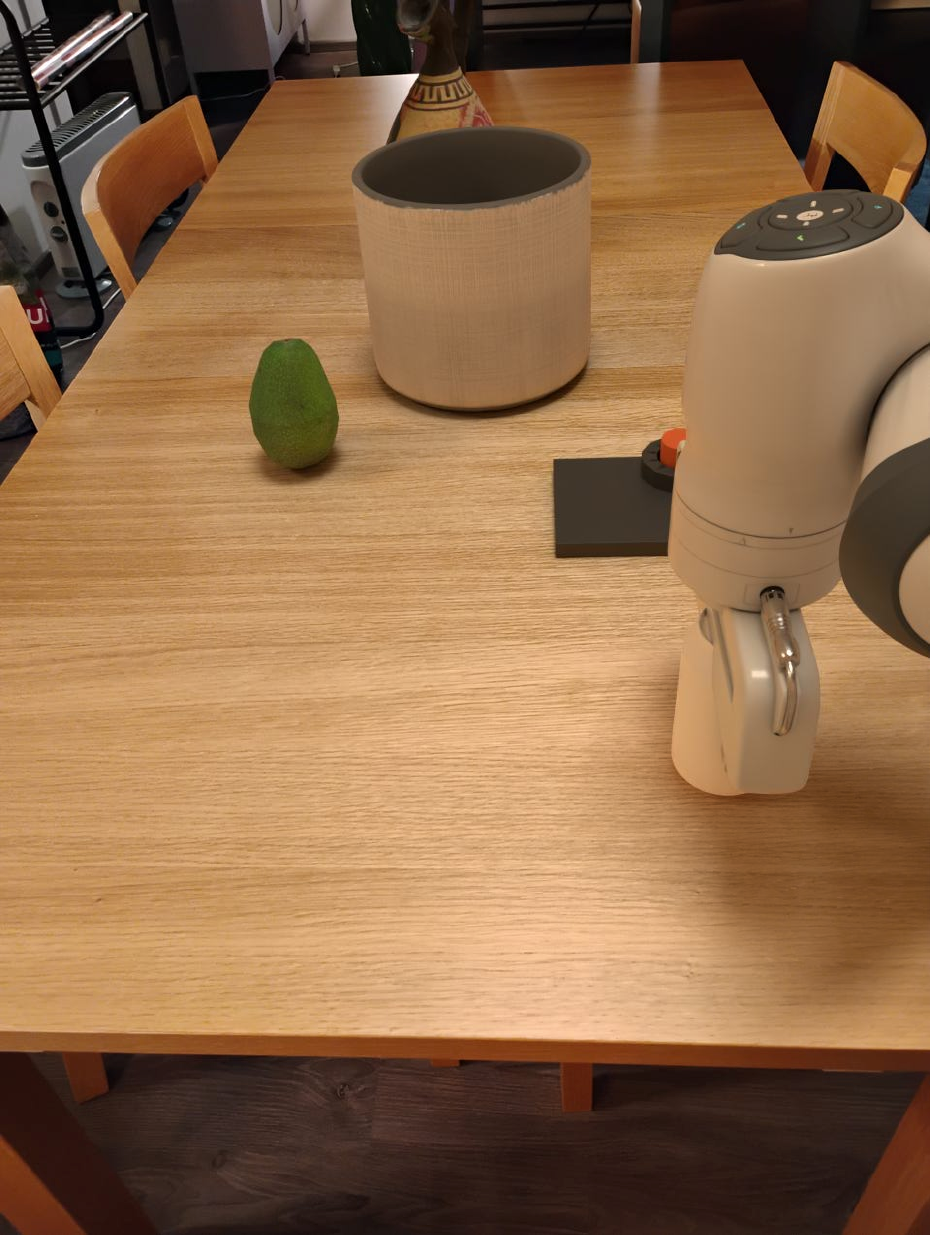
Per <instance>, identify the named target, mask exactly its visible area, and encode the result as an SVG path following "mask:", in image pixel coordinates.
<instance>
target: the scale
mask: <svg viewBox="0 0 930 1235" xmlns="http://www.w3.org/2000/svg"><path fill="white" fill-rule="evenodd" d="M660 450H661V438H658V439H655V440H653V441H651V442H649V443H648V444H647V445H646V446H645V448H644V449H643V450H642V451H641V456H612V457H611V456H609V457H577V458H576V457H575V458H574V457H573V458H553V459H552V463H553V464H552V466H553V467H552V469H553V474H552V475H553V477H552V478H553V506H554V507H553V510H554V511H553V512H554V544H555V545H554V550H555V551H554V552H555V554H554V555H555V558H588V557H589V558H592V557H595V558H596V557H637V556H638V557H639V556H641V557H642V556H668V540H669V529H670V518H671V506H672V494H673V485H674V473H675V468H672V467H669V466H665V465H663V464H662V463H661V461H660Z"/></svg>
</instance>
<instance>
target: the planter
mask: <svg viewBox="0 0 930 1235" xmlns="http://www.w3.org/2000/svg"><path fill="white" fill-rule="evenodd" d="M351 187H352V195H353V202H354V209H355V210H354V211H355V216H356V225H357V232H358V240H359V246H360V254H361V263H362V270H363V272H362V273H363V278H364V279H363V280H364V285H365V286H364V288H365V296H366V303H367V312H368V321H369V329H370V336H371V343H372V351H373V357H374V362H375V366H376V369H377V372H378V374H379V376H380V377H381V379H382V380H383V382H385V384H386V385H387V386H388V387H389V388H391V389H392V390H394V391H395V392H397V393H398V394H400V395H401V396H403V397H404V398H407V399H409V400H411V401H413V402H416V403H417V404H422V405H425V406H428V407H432V408H436V409H440V410H446V411H455V412H456V411H457V412H470V413H471V412H474V413H476V412H477V413H478V412H489V411H490V412H491V411H499V410H507V409H512V408H516V407H519V406H523V405H527V404H530V403H533V402H536V401H539V400H541V399H543V398H545V397H547V396H549V395H551V394H553V393H555V392H557V391H559V390H560V389H562V388H563V387H565V386H566V385H568V384H569V383H570V382H571V381H572V380H574V379H575V378H576V377H577V376H578V375H579V374H580V373H581V372H582V370H583V369H584V367H585V366H586V364H587V363H588V362H587V361H588V359H589V356H590V348H591V336H592V335H591V334H592V333H591V332H592V330H591V329H592V327H591V326H592V256H591V255H592V156H591V154H590V152H589V150H588V149H587V147H585V145H583V144H582V143H581V142H579V141H578V140H575V139H574V138H571V137H569V136H566V135H563V134H561V133H558V132H554V131H549V130H545V129H539V128H533V127H527V126H526V127H525V126H515V125H514V126H513V125H494V126H473V127H461V128H452V129H445V130H439V131H433V132H428V133H423V134H419V135H415V136H411V137H407V138H404V139H401V140H398V141H395V142H392V143H390V144H387V145H386V144H385V145H383V146H381V147H378V148H377V149H375V150H373V151H371V152H370V153H368V154H367V155H365V156H364V157H362V158H361V159H360V160H359V161H358V162H357V163H356V165H354V167H353V169H352V172H351Z"/></svg>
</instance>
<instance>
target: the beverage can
mask: <svg viewBox="0 0 930 1235" xmlns="http://www.w3.org/2000/svg"><path fill="white" fill-rule="evenodd" d="M713 648H714V647H713V644H712V641H711V636H710V631H709V625H708V620H707V615H706V607H705V608H704V609H703V610H702V611H701V612H700V614H699V613H698V617H697V619H696V620H695V621H694V622H693V623H692V624H691V625H690V626H689V627H688V629H687V630H686V632H685V634H684V636H683V639H682V647H681V656H680V663H679V672H678V682H677V692H676V698H675V700H676V701H675V708H674V719H673V728H672V737H671V749H670V750H671V751H670V752H671V759H672V763H673V765H674V767H675V769H676V772H678V774H679V775H680V776H681V778H683V779H684V781H686V782H687V783H688V784H690V785H691V786H693V787H694V788H695V789H698V790H700V791H703V792H705V793H708V794H711V795H717V796H723V797H731V796H733V797H734V796H739V795H740V796H741V795H744V794H747V793H746V792H741V791H737V790H735V789H734V788H732V786H731V785H730V782H729V779H728V773H726V772H725V770H724V766H723V761H722V754H721V747H722V739H721V734H720V728H719V723H718V717H717V712H716V706H715V701H714V695H713V689H712V656H713Z"/></svg>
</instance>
